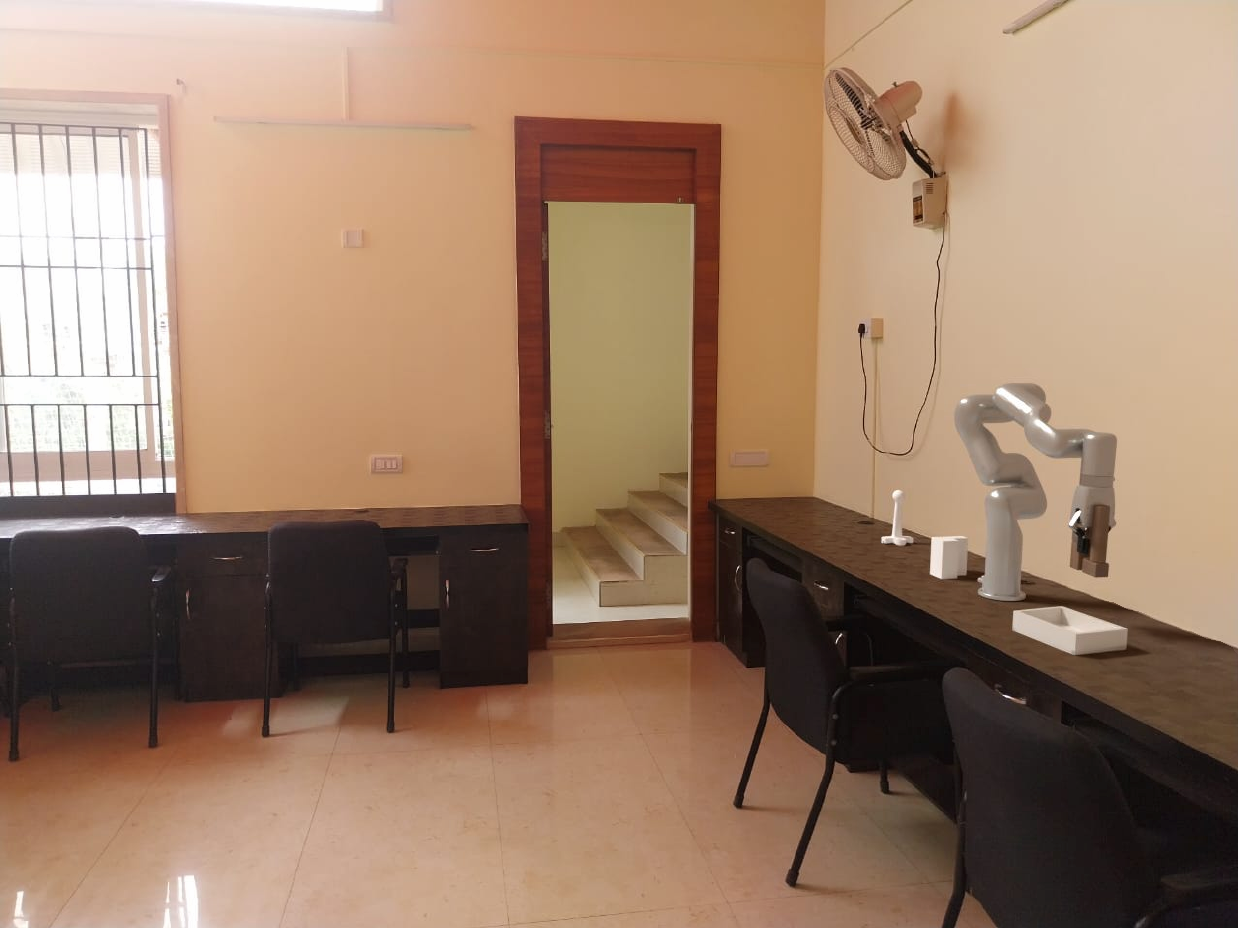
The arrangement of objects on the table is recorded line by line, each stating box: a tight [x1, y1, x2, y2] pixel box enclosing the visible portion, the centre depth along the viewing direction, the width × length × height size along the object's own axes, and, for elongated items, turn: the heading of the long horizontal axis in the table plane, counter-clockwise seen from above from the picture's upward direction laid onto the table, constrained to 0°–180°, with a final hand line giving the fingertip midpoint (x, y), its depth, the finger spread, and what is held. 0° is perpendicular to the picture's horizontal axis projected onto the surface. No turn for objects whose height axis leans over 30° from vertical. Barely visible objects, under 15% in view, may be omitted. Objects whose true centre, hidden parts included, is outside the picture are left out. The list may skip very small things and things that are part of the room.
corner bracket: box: [929, 535, 969, 580], centre depth 279 cm, size 11×11×12 cm
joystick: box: [881, 489, 914, 547], centre depth 325 cm, size 11×8×20 cm
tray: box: [1011, 605, 1129, 656], centre depth 213 cm, size 20×15×5 cm
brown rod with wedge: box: [1069, 505, 1110, 578], centre depth 223 cm, size 4×11×18 cm, turn 6°
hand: (1090, 551), depth 223 cm, fingers closed on brown rod with wedge, 4 cm apart
